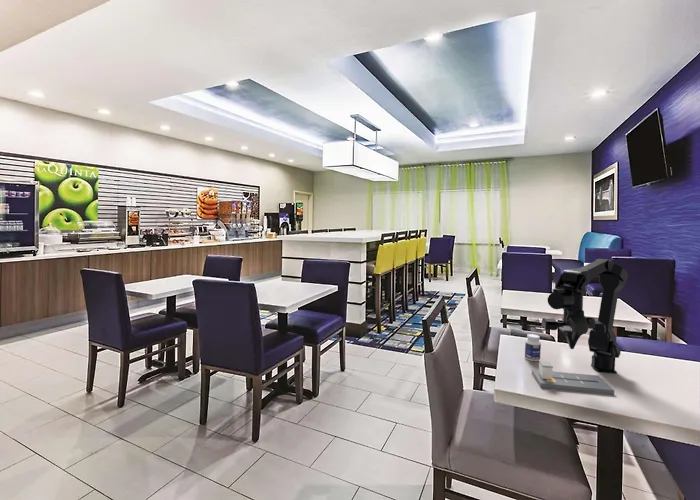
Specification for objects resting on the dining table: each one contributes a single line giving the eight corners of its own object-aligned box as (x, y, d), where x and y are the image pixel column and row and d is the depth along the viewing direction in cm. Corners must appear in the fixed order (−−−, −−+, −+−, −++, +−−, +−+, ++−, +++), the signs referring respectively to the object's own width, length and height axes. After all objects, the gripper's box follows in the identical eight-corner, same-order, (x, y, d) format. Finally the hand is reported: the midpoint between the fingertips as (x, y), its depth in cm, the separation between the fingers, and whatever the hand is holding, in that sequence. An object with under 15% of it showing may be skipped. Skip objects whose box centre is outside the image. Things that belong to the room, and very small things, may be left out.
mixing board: (598, 379, 130) (598, 375, 129) (614, 394, 118) (614, 390, 118) (531, 373, 135) (531, 369, 135) (540, 387, 123) (540, 382, 123)
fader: (547, 373, 130) (548, 360, 130) (552, 379, 125) (553, 366, 125) (538, 372, 131) (538, 360, 131) (542, 378, 126) (542, 365, 126)
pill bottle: (534, 362, 145) (535, 338, 145) (521, 358, 150) (522, 334, 150) (543, 360, 148) (544, 336, 147) (530, 355, 153) (531, 332, 152)
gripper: (550, 310, 121) (549, 355, 122) (614, 312, 117) (612, 359, 118) (541, 302, 132) (540, 344, 133) (599, 304, 128) (597, 347, 129)
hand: (571, 348), depth 128 cm, fingers closed
